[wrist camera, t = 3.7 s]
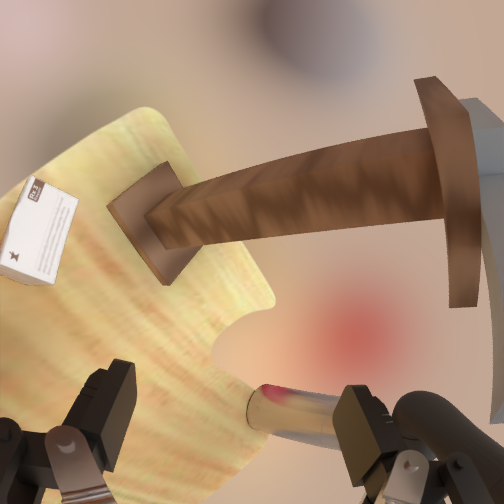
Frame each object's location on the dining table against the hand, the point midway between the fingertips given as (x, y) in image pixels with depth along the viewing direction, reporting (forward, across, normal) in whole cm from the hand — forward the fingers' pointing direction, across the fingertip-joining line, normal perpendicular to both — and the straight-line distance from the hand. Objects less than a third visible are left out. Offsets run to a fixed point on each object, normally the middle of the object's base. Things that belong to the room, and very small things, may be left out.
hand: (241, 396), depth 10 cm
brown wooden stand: (+27, -10, -1) cm, 29 cm away
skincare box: (+14, -21, -2) cm, 26 cm away
